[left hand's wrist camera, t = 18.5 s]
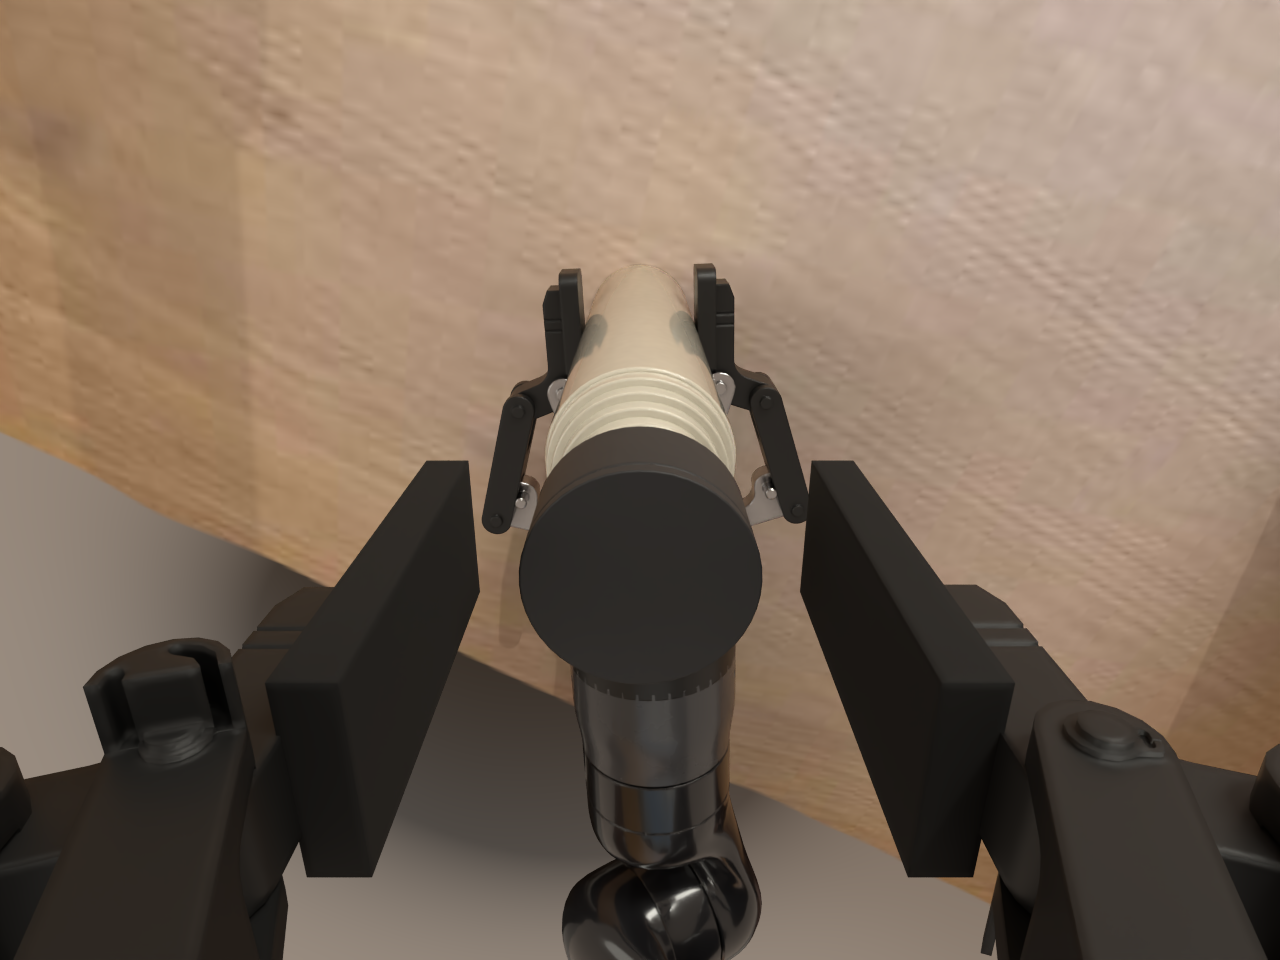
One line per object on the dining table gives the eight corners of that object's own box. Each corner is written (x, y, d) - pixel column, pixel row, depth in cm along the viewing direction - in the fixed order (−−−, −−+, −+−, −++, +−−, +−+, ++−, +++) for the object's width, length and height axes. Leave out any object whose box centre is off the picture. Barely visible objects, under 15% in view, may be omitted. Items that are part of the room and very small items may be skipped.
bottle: (598, 258, 35) (519, 426, 12) (694, 271, 35) (795, 460, 12) (587, 354, 37) (502, 660, 14) (680, 366, 37) (745, 686, 14)
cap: (781, 556, 15) (804, 619, 13) (606, 645, 16) (601, 720, 14) (679, 384, 14) (686, 424, 12) (494, 491, 14) (469, 546, 12)
